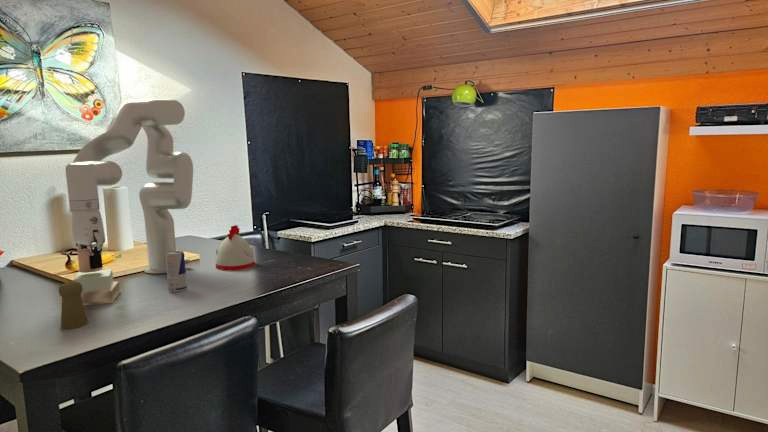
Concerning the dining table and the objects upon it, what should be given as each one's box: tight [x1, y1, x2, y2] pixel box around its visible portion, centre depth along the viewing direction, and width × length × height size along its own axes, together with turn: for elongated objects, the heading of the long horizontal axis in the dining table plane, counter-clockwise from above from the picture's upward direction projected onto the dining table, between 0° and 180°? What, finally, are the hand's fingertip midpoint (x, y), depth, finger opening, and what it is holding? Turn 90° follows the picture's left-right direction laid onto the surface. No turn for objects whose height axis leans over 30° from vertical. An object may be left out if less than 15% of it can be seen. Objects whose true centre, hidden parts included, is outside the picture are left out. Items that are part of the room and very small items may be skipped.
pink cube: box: [76, 247, 104, 273], centre depth 153 cm, size 6×6×6 cm
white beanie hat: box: [215, 224, 256, 271], centre depth 192 cm, size 14×14×15 cm
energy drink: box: [166, 250, 188, 293], centre depth 162 cm, size 5×5×12 cm
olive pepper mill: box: [58, 281, 89, 330], centre depth 132 cm, size 6×6×11 cm
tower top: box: [73, 268, 114, 292], centre depth 154 cm, size 9×9×4 cm
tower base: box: [81, 280, 121, 306], centre depth 155 cm, size 11×11×4 cm
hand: (90, 266), depth 154 cm, fingers closed on pink cube, 5 cm apart
